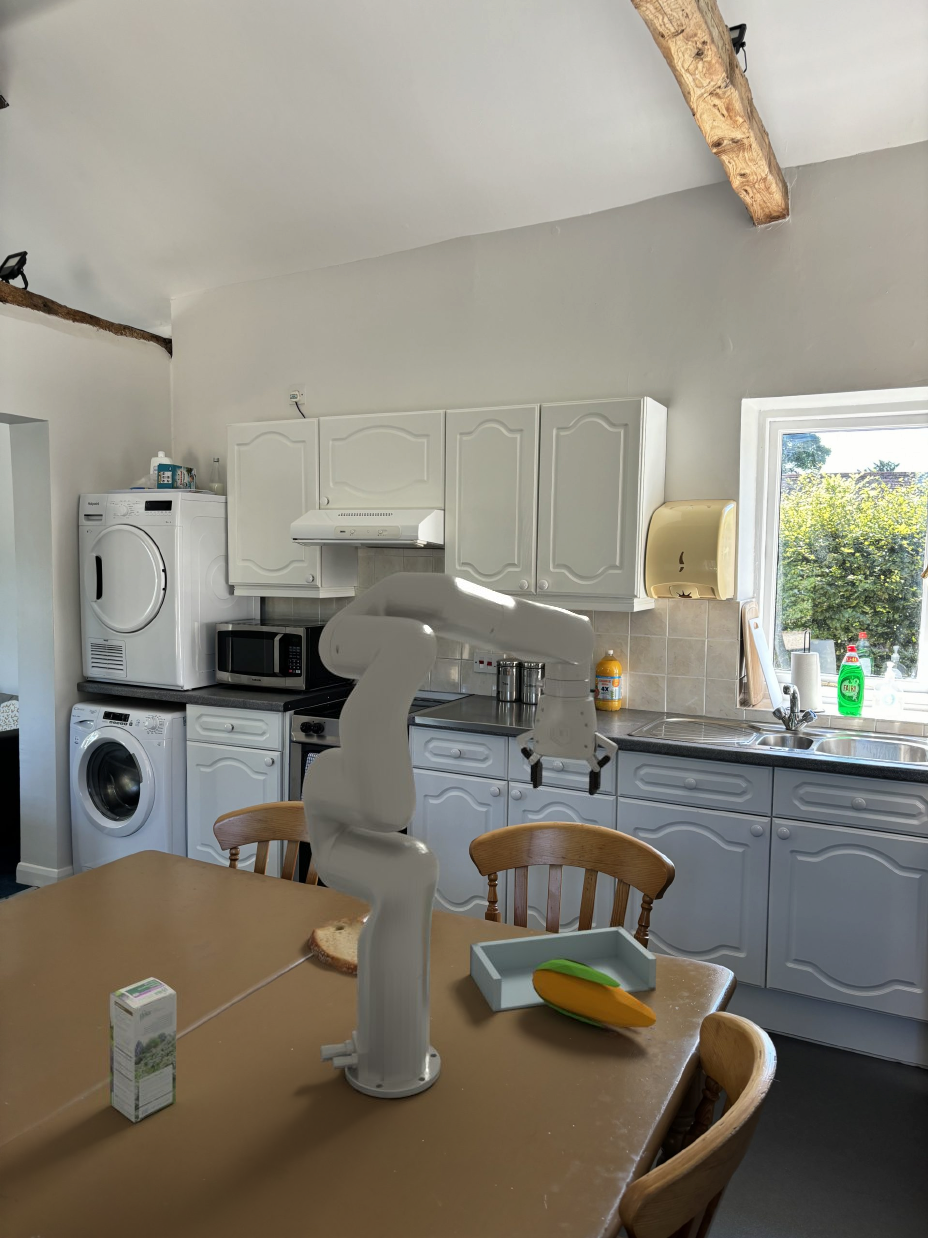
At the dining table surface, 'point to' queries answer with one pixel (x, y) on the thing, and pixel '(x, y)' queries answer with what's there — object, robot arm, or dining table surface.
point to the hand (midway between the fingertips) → (564, 790)
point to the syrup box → (142, 1048)
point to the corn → (588, 995)
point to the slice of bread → (338, 943)
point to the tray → (513, 961)
